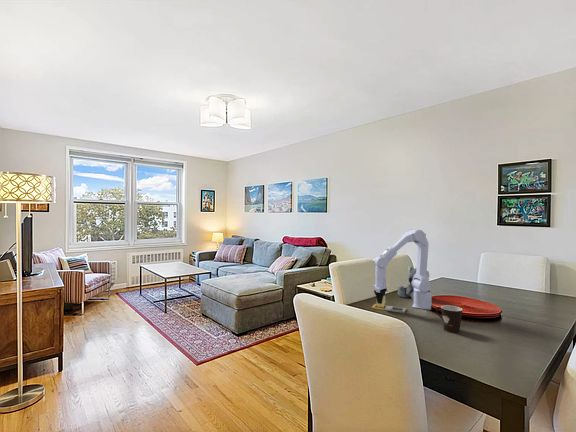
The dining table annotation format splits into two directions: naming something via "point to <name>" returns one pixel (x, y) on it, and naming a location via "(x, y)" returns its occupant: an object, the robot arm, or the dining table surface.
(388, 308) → the rail
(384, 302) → the brass block
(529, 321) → the dining table surface
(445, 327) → the coffee mug
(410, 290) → the koala plush
